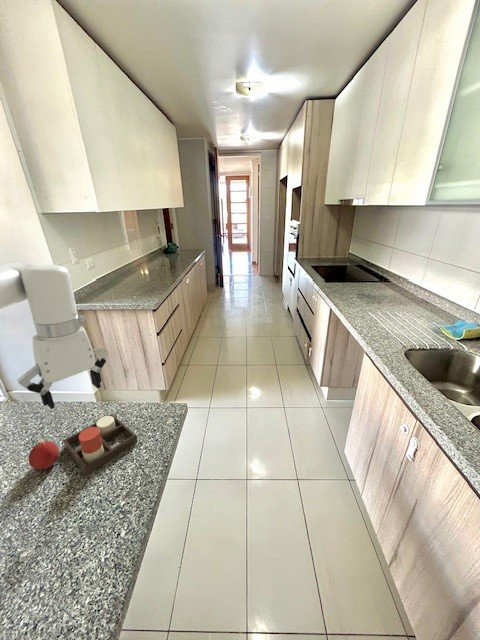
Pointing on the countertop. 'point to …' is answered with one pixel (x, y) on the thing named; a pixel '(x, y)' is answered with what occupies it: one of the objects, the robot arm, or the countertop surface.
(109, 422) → the token
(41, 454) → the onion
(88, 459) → the cylinder
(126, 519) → the countertop surface
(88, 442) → the cylinder
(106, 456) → the divided brown tray
